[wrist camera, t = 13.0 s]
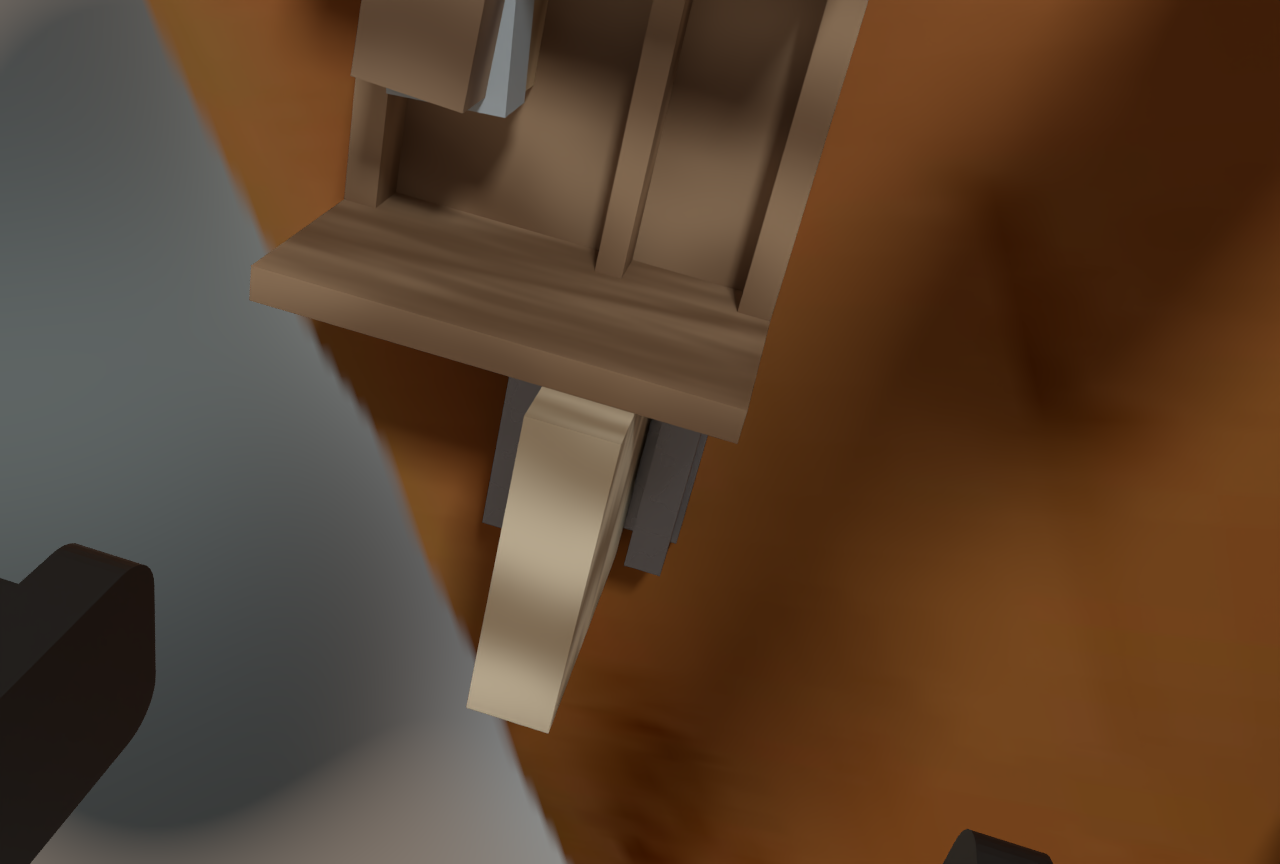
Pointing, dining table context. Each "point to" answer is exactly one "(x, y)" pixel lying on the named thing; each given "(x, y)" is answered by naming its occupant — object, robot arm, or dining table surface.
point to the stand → (655, 489)
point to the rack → (591, 206)
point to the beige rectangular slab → (554, 552)
